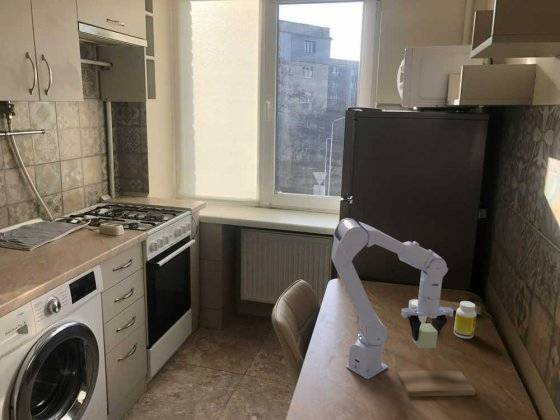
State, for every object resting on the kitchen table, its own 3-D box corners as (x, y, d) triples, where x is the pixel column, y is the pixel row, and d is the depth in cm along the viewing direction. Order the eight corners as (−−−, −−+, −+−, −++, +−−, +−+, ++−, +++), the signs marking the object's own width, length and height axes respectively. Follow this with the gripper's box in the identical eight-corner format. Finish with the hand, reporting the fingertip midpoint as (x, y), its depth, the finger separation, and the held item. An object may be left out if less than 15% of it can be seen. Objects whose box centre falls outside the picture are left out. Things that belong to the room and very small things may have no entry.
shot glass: (419, 315, 167) (421, 297, 165) (431, 324, 160) (433, 306, 159) (403, 318, 165) (404, 299, 163) (414, 327, 158) (416, 308, 157)
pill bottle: (475, 340, 151) (479, 309, 148) (455, 338, 152) (459, 306, 149) (471, 331, 157) (475, 301, 154) (452, 329, 158) (456, 298, 155)
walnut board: (474, 395, 123) (475, 390, 122) (408, 396, 121) (408, 391, 121) (459, 375, 131) (459, 370, 131) (397, 376, 130) (397, 371, 130)
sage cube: (418, 348, 131) (420, 332, 130) (412, 339, 136) (413, 323, 135) (435, 347, 132) (437, 331, 131) (428, 338, 137) (430, 323, 136)
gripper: (410, 301, 126) (405, 347, 129) (460, 300, 128) (454, 345, 131) (400, 291, 133) (396, 334, 136) (448, 290, 134) (443, 332, 138)
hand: (424, 339), depth 134 cm, fingers closed on sage cube, 5 cm apart
